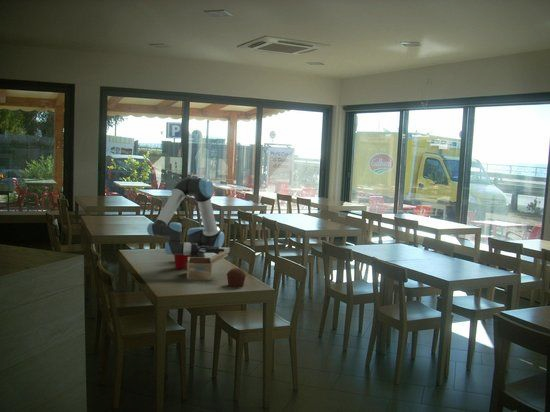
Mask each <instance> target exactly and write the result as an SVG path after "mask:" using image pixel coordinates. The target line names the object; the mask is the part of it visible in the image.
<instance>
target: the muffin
mask: <svg viewBox="0 0 550 412" xmlns="http://www.w3.org/2000/svg"><path fill="white" fill-rule="evenodd" d="M226 276H227V277H226V278H227V286H228V287H231V288H234V287H236V288H237V287H240V288H243V287H244V284H245V280H246V276H247V274H246V273H245V272H244V270H242V269H241V268H237V267H236V268H235V267H233V268H232V269H230V270H228V272H227V273H226Z"/></svg>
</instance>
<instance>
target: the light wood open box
mask: <svg viewBox="0 0 550 412" xmlns="http://www.w3.org/2000/svg"><path fill="white" fill-rule="evenodd" d="M186 265H187V268H186V280H188V281H212V271H213V270H212V268H213V264H212V259H211V257H205V258H201V257H188V262H186Z"/></svg>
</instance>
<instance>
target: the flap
mask: <svg viewBox="0 0 550 412" xmlns="http://www.w3.org/2000/svg"><path fill="white" fill-rule="evenodd" d="M228 256H229V253H226V252H219V253H216V254H215V255H213V256H211V257H210V258H211V261H212V265H213V264H214V263H216V262H219V261H220V260H223V259H225V258H227V257H228Z"/></svg>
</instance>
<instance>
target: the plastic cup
mask: <svg viewBox="0 0 550 412" xmlns="http://www.w3.org/2000/svg"><path fill="white" fill-rule="evenodd" d="M173 256H174V264H175V269H177V270H184V269H185V268H186V265H187V258H188V255H186V256H185V255H173Z"/></svg>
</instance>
